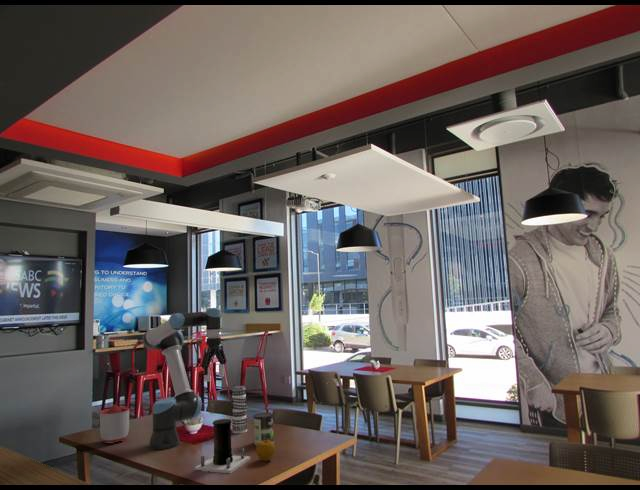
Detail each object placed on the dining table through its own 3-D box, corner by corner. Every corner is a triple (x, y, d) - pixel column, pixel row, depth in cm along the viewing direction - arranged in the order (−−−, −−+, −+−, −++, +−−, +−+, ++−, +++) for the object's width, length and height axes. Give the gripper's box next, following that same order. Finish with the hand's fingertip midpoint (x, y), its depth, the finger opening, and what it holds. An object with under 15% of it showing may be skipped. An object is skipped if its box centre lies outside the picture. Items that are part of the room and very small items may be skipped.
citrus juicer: (126, 435, 271) (126, 399, 273) (132, 441, 256) (132, 404, 259) (96, 440, 262) (96, 404, 265) (101, 447, 248) (101, 408, 250)
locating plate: (194, 470, 206) (194, 458, 206) (216, 457, 223) (216, 445, 223) (230, 473, 200) (230, 460, 201) (250, 459, 217) (249, 447, 217)
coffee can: (276, 439, 246) (275, 412, 248) (270, 445, 236) (269, 417, 238) (257, 439, 248) (257, 412, 250) (251, 445, 238) (250, 417, 240)
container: (214, 459, 215) (213, 419, 218) (233, 457, 216) (232, 417, 218) (211, 466, 206) (210, 424, 209) (231, 464, 207) (230, 422, 210)
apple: (258, 465, 208) (258, 444, 209) (253, 459, 217) (252, 439, 218) (278, 461, 212) (277, 440, 213) (272, 455, 220) (271, 436, 221)
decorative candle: (228, 431, 267) (227, 387, 270) (242, 428, 273) (241, 384, 276) (237, 434, 260) (236, 388, 263) (251, 430, 266) (249, 386, 269)
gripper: (206, 339, 231) (206, 383, 228) (232, 335, 254) (233, 375, 252) (193, 339, 233) (193, 383, 231) (220, 335, 257) (221, 374, 254)
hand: (214, 379), depth 241 cm, fingers open, 13 cm apart
